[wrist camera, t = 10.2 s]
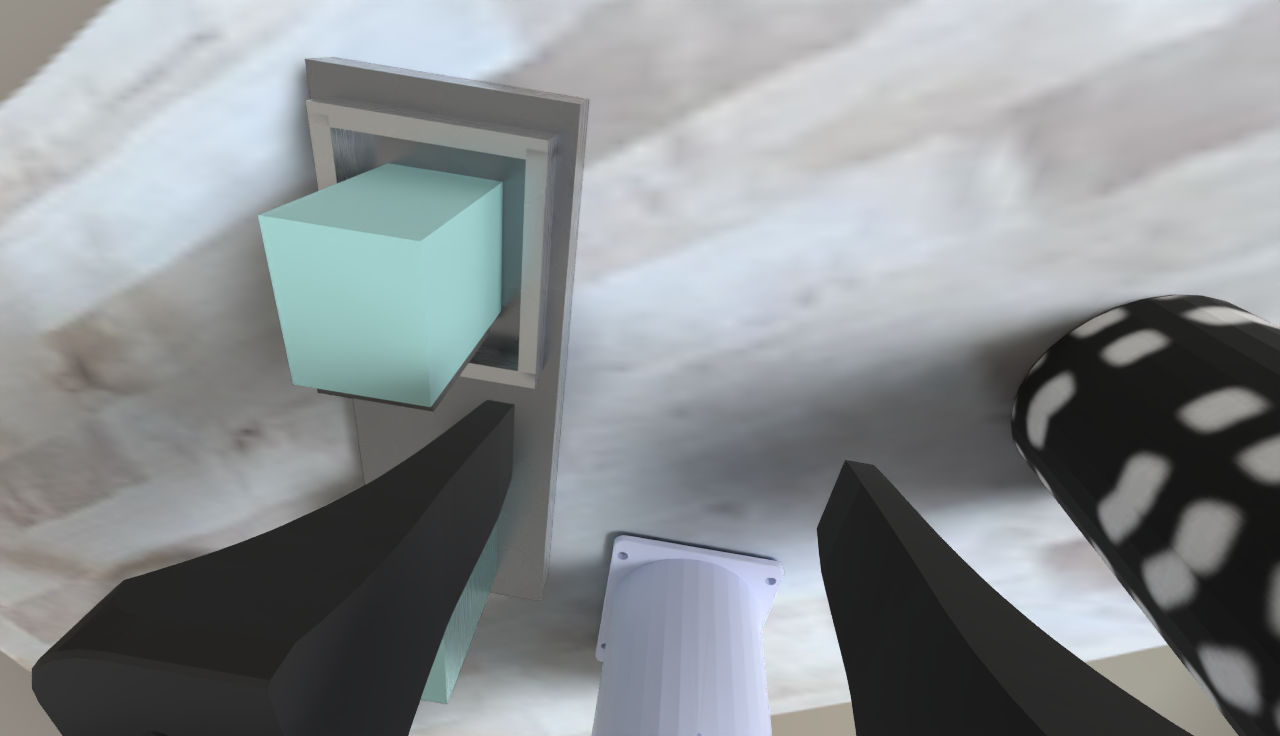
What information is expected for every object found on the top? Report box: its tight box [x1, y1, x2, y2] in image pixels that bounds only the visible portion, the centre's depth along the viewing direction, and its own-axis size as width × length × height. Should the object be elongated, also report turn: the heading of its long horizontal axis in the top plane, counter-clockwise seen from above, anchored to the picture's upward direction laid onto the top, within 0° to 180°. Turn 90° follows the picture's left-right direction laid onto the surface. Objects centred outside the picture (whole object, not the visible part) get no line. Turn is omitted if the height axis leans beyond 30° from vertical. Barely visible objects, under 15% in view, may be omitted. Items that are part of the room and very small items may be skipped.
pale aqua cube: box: [258, 163, 503, 412], centre depth 16 cm, size 5×4×6 cm
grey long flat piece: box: [305, 57, 589, 704], centre depth 20 cm, size 22×8×8 cm, turn 172°
